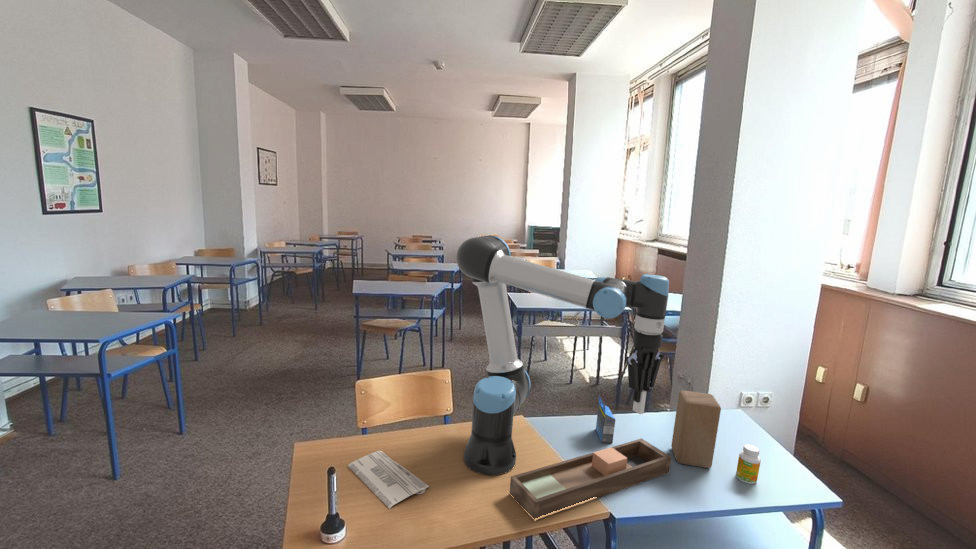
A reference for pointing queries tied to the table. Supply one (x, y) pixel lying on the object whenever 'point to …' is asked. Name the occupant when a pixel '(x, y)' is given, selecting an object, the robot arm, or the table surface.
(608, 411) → the blue retail box
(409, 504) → the table surface
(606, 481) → the channel
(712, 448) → the block
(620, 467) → the clay block
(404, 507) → the table surface
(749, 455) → the supplement bottle
